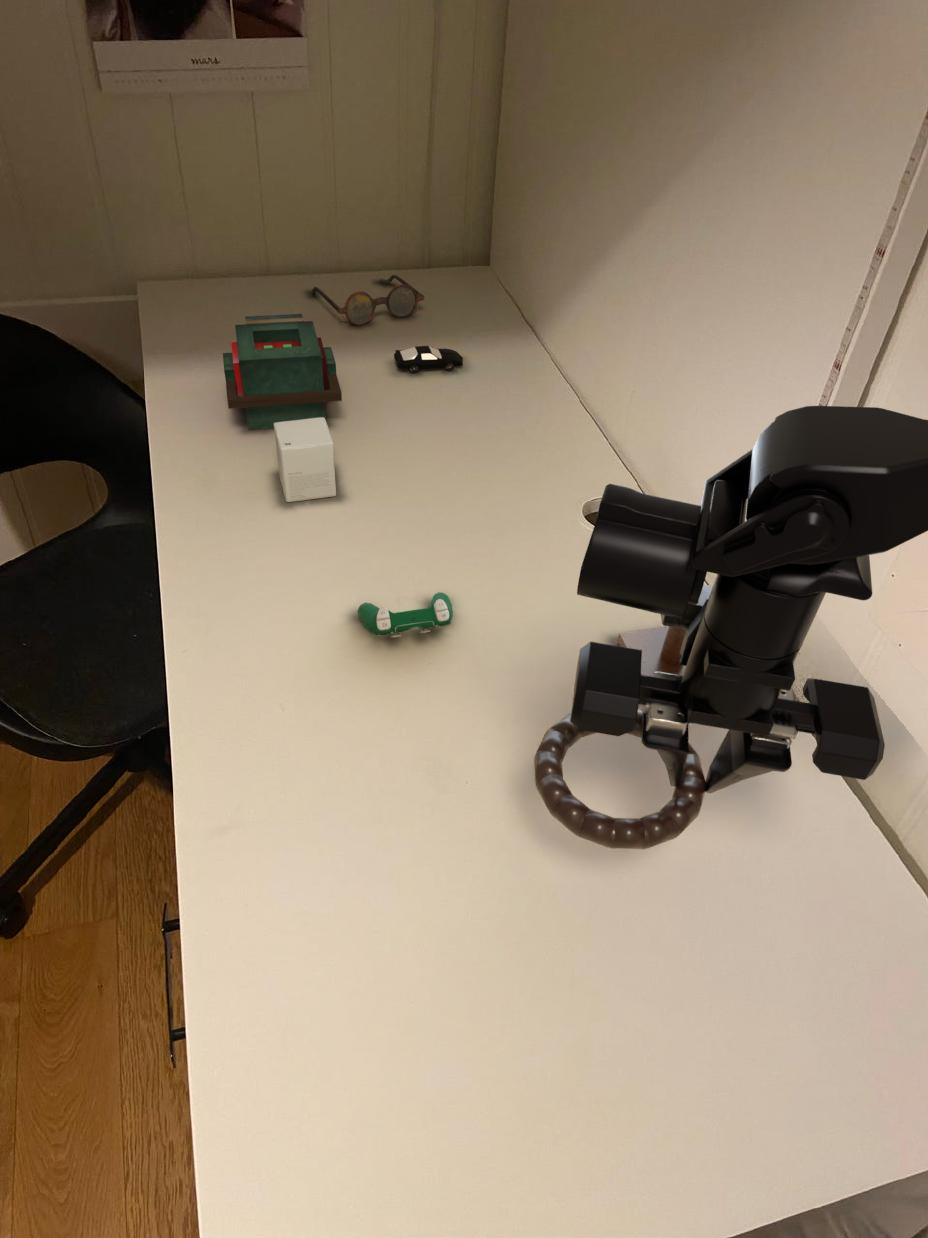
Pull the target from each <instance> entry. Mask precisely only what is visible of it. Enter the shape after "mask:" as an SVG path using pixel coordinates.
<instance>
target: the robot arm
mask: <svg viewBox="0 0 928 1238" xmlns="http://www.w3.org/2000/svg"><path fill="white" fill-rule="evenodd" d="M927 532H928V419H924V418H920V417H916V416H913V415H909V414H905V413H901V412H899V411H893V410H890V409H887V408H882V407H875V406H871V407H870V406H869V407H867V406H844V405H843V406H842V405H841V406H840V405H805V406H802V407H798V408H794V409H790V410H787V411H785V412H783V413H781V414H779V415H777V416H776V417H775V418H774V419H773V421H772V422H771V423H770V424H769V425H768V426H766V428H765V429H764V430H763V431H762V432H760V434H759V435H758V437H757V440H756V441H755V444H754V445H753V448H752V449H750V450H748V451H747V452H746V453H744V454H743V455H741V456H740V457H738V458H737V459H736V460H734V461H733V462H731V463H730V464H728V465H726V466H725V467H724V468H722V469H721V470H719V471H718V472H717V473H715V474H714V475H711V477H709V478H708V479H706V480H705V482H704V486H703V493H702V498H701V502H700V505H699V504H694V503H689V502H685V501H679V500H676V499H671V498H665V497H661V496H656V495H651V494H647V493H643V492H641V491H638V490H636V489H633V488H631V487H627V486H624V485H618V484H613V483H608V484H606V485H605V487H604V489H603V492H602V495H601V499H600V502H599V504H598V511H597V516H596V520H595V523H594V525H593V530H592V532H591V535H590V538H589V541H588V543H587V548H586V550H585V553H584V557H583V560H582V563H581V566H580V571H579V577H578V583H577V589H576V595H578V596H580V597H581V596H582V597H584V598H589V599H594V600H597V601H598V600H599V601H603V602H607V603H611V604H616V605H620V606H624V607H627V608H632V609H635V610H636V609H637V610H641V611H645V612H649V613H652V614H653V613H654V614H659V615H660V620H661V624H662V626H663V627H667V626H670V627H676V628H682V629H684V630H685V631H686V634H685V637H684V640H683V643H682V646H681V650H680V665H683V666H686V668H685V671H684V674H683V676H681V675H676V674H670V673H664V672H654V674H653V677H651V676H645V675H641V660H642V650H639V649H633V648H627V647H621V646H619V645H614V644H608V643H602V642H596V641H589V642H588V643H586V644H584V645H583V646H582V647H580V648H579V649H580V650H579V654H578V659H577V663H576V671H575V679H574V686H573V695H572V703H571V710H570V713H571V717H570V722H571V723H572V724H573V725H574V726H575V727H576V728H577V729H579V730H584V731H590V732H596V733H595V734H602V735H606V736H607V735H608V736H613V737H621V736H624V735H626V733H629V732H631V731H633V729H634V726H635V723H636V718H637V712H638V710H639V707H640V705H642V711H643V713H642V736H641V738H640V739H641V744H642V745H643V747H644V748H647V749H650V750H653V751H656V752H657V753H658V755H659V757H660V758H661V760H662V762H663V763H664V765H665V768H666V772H667V776H668V781H669V785H670V787H673V788H675V787H676V786H677V785H678V784H679V783H680V781H681V778H682V775H683V771H684V767H685V763H686V760H687V756H688V752H689V743H690V742H689V737H690V736H689V724H695V725H701V726H707V727H712V728H717V729H718V728H719V729H724V730H727V732H726V734H725V736H724V738H723V740H722V742H721V743H720V745H719V748H718V750H717V752H716V753H715V755H714V757H713V759H712V761H711V763H710V764H709V767H708V771H707V773H706V776H705V782H706V790H705V794H713V793H715V792H717V791H721V790H722V789H725V788H728V787H730V786H733V785H735V784H737V783H740V782H742V781H746V780H748V779H751V778H755V777H758V776H761V775H765V774H768V773H772V772H779V773H786V772H788V771H789V770H790V769H791V767H792V764H793V759H792V753H791V745H792V740H795V739H796V737H797V735H798V733H799V732H800V733H806V734H812V735H814V736H815V741H816V746H815V749H814V750H813V752H812V754H811V758H812V763H813V764H814V766H815V767H816V768H817V769H818V770H819V772H821V773H822V774H829V775H833V776H839V777H844V778H851V779H855V780H862V781H866V780H867V779H868V778H870V777H871V776H874V773H875V772H876V770H877V768H878V767H879V765H880V764H881V762H882V760H883V759H884V753H885V747H886V743H885V739H884V735H883V730H882V726H881V722H880V717H879V712H878V710H877V704H876V699H875V697H874V695H873V694H872V692H871V690H870V688H869V687H868V686H861V685H855V684H849V683H843V682H838V681H831V680H825V679H819V678H813V677H807V678H806V680H805V683H804V685H803V687H802V695H803V697H804V698H805V699H806V701H807V702H805V701H799V700H795V693H794V688H793V685H794V682H795V681H796V673H795V667H794V664H795V661H796V660H797V657H798V655H799V653H800V651H801V649H802V646H803V644H804V642H805V640H806V637H807V636H808V633H809V631H810V629H811V626H812V624H813V622H814V620H815V618H816V616H817V613H818V612H819V609H820V607H821V604H822V602H823V600H824V598H825V596H826V594H831V595H836V596H841V597H845V598H849V599H854V600H859V601H868V600H870V599H871V598H872V596H873V586H872V585H873V584H872V572H871V559H870V556H872V555H878V554H882V553H887V552H888V551H890V550H892V549H894V548H897V547H899V546H901V545H902V544H904V543H907V542H908V541H911V540H913V539H915V538H916V537H918V536H920V535H923V534H925V533H927ZM708 573H711V574H716V576H715V578H714V582H713V584H712V585H710V584H705V581H706V577H707V574H708Z"/></svg>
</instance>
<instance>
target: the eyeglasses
mask: <svg viewBox="0 0 928 1238" xmlns="http://www.w3.org/2000/svg"><path fill="white" fill-rule="evenodd" d="M394 279H395V280H397V281H398V282H399V283H401V284H398V285H395V286H394V287H393V288H391V290H390V291H389V292H388V294H387V296H379V297H376V298H373V297H372V296H371V295H370V294H368V293H367V292H366V291H355V292H353V293H352V294H350V295H349V296H348V297H347V299H346V300H345V303H344V306H343V307H340V306H339V305H338V304H337V303H335V301H333V300H332V299H331V298H330V297H329V296H328V295H327V294H326V293H324V291H322V289H320V288H319V287H317V286H313V288H312V289H311V294H312V295H313V296H314V295H316V292H317V294H319V295H320V296H321V297H322V298H323V299H324V300H325V301H326V302H327V303H328V304H329V305H330V306H331V307H332V308H333V309H334V310H335V312H337V313H338V314H339V315H345V317H346V319H347V320H348V321H349V323H351V325H352V324H353V325H355V326H363V325H366V324H367V323H369V322H370V321H371V319H372V318H373V316H374V314H375V311H376V308H377V307H378V306H380V305H385V306H386V309H387V310H388V312H389V313H390V314H391V315H392V316H394V317H396V318H406V317H408V316H411V314H413V312H414V311H415V310H416V309H417V306H418V303H419V302H421V301H424V299H425V295H424V294H423V293H421V292H419V290H418V289H416V288H415V287H414V286H412V285H411V284H409V282H407V281H406V280H404V279H403V278H401V277H400V276H399V275H397V274H392V275H391V276H390V277H389V278H388V279H382V278H381V279H379V283H380V284H390V283H391V282H393V280H394Z"/></svg>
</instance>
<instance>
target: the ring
mask: <svg viewBox="0 0 928 1238" xmlns="http://www.w3.org/2000/svg"><path fill="white" fill-rule="evenodd" d="M642 713H643V710H641V709H638V712H637V718H636V723H635V726H634V729H633V731H631V732H629V733H626V734H627V735H629V736H633V737H635V738H639V739H641V736H642ZM570 717H571V712H570V713H567V714H565V715H564V716H563V717H562V718H561V719H559V720H558V721H557V722H556V723H555V724H554V725H552V726H551V727H550V728H548V729H547V730H546V731H545V732H544V734H543V737H542V739H541V741H540V743H539V745H538V748H537V750H536V752H535V754H534V757H533V764H534V765H533V766H534V767H533V768H534V784H535V788H536V790H537V792H538V794H539V796H540V798H541V800H542V801H543V803H544V805H545V807H546V809H547V811H548V812H549V814H550V815H551V816H552V817H553V818H554V819H555V820H557V822H559V823H560V824H561V825H562V826H564V827H565V828H566V829H568V831H570V832H571V833H572V834H574V835H575V836H576V837H578V838H579V839H580V838H581V839H583V840H585V841H589V842H592V843H594V844H597V845H600V846H602V847H605V848H607V849H612V850H648V849H650V848H653V847H655V846H658V845H661V844H664V843H667V842H669V841H672V840H675V839H677V838H678V837H680V835H681V834H683V832H684V831H685V830H686V829H687V828H688V827H690V825H691V824H692V823H693V822H694V821H695V820H696V819H697V818H698V817H699V815H700V812H701V809H702V805H703V801H704V798H705V794H706V792H705V790H706V782H705V780H706V776H705V774H704V770H703V769H704V768H703V765H702V761H701V760H702V759H701V758H700V755H699V754H698V753H697V751H696V749H695V748H694V747H693V746H692V744H691V743H690V742H689V752H688V756H687V760H686V763H685V767H684V771H683V775H682V778H681V781H680V783H679V784H678V785H677V786H676V787H674V791H673V794H672V797H671V799H670V800H669V801H668V802H667V803H666V804H665V805H664V806H663V807H662V808H661V809H660V810H659V811H656V812H653V813H650V814H647V815H644V816H642V817H639V818H632V817H613V816H611V815H608V814H604V813H602V812H599V811H596V810H594V809H591V808H590V807H588V806H587V805H586V804H585V803H583V801H581V800H580V799H578V797H576V796H575V795H574V794H573V793H572V791H571V788H570V787H569V786H568V784H567V782H566V780H565V779H564V769H563V762H564V759H565V757H566V755H567V753H568V750H569V749H570V748H571V747H572V746H574V745H575V744H576V743H577V742H578V741H580V740H581V739H582V738H585V737H589V736H592V735H595V734H597V733H596V732H590V731H584V730H579V729H577V728H576V727H575V726H574V725H573V724H572V723H571V722H570ZM626 734H625V735H626Z"/></svg>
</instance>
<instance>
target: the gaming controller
mask: <svg viewBox="0 0 928 1238" xmlns="http://www.w3.org/2000/svg"><path fill="white" fill-rule="evenodd" d="M453 613H454V611H453V604H452V602H451V600H450V597H449V596H448V595H447V594H446V593H445V592H439V591H438V592H436V593H434V594H433V596H432V598H431V601H430V605H429V606H428V607H425V608H418V609H412V610H403V611H398V612H397V611H396V612H392V611H391V610H389V609H388V608H387V607H385V606H382V607H380V608H379V607H378V606H376V605H375V604H373V603H371V602H363V603H361V604H360V605H359V606H358V607H357V615H358V617H359V619H360V621H361V623H362V624H363V626H364V628H365V629H366V630H367V631H368V632H369V633H371V634H373V635H374V637H378V636H379V637H380V636H387V635H390V637H391V638H392V639H393V638H398V637H399V638H400V637H402V633H403V632H407V631H415V630H420V631H419V633H420V634H424V633H425V634H427V633H430V632H431V628H432V629H433V628H438V627H444V626H449V625H450V624H452V619H453V617H454V615H453Z"/></svg>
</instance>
